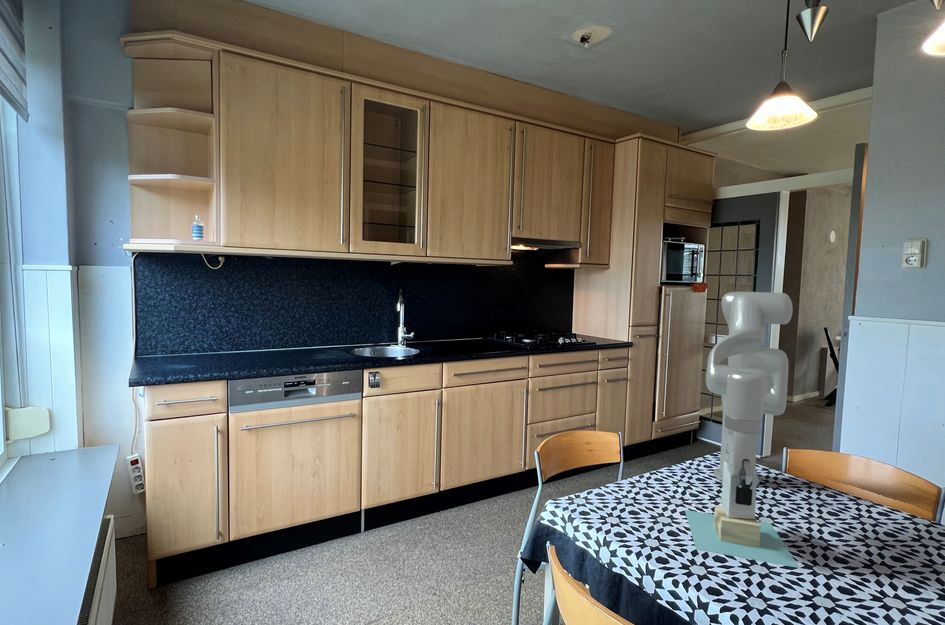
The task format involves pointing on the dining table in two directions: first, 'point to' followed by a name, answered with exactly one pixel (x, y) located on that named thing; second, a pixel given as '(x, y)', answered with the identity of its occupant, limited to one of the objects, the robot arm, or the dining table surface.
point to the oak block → (736, 529)
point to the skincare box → (730, 492)
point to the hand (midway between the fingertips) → (738, 495)
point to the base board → (766, 552)
